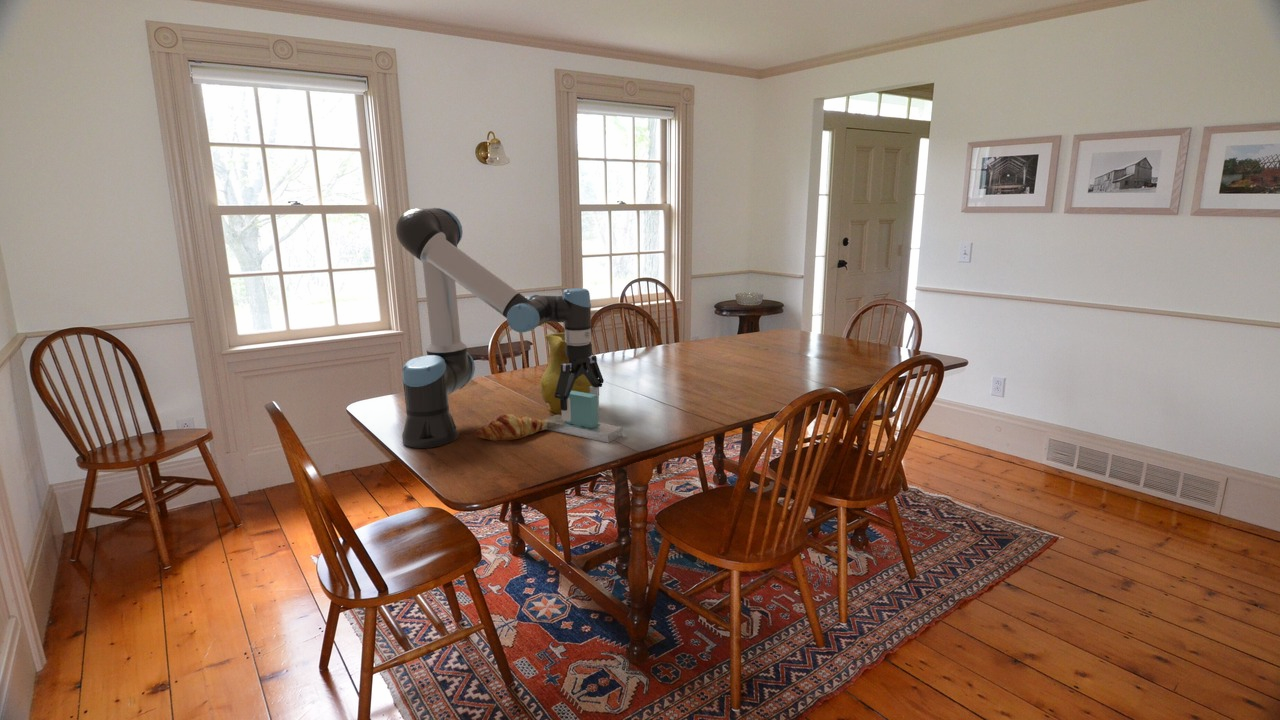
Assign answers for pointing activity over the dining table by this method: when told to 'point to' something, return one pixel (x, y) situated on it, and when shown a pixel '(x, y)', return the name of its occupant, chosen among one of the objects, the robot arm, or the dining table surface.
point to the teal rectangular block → (583, 409)
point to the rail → (584, 429)
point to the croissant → (510, 428)
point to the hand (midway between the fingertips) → (581, 414)
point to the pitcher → (558, 373)
